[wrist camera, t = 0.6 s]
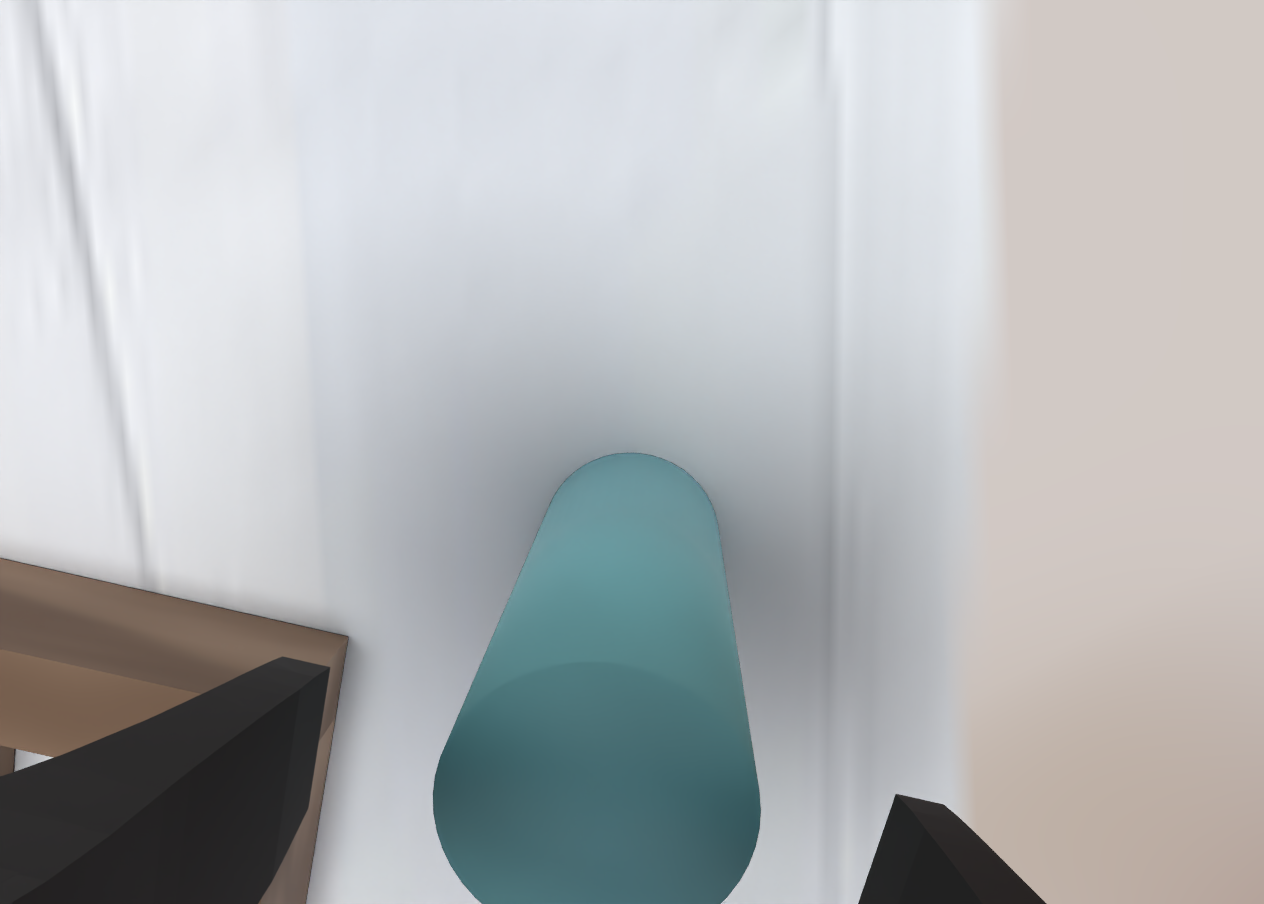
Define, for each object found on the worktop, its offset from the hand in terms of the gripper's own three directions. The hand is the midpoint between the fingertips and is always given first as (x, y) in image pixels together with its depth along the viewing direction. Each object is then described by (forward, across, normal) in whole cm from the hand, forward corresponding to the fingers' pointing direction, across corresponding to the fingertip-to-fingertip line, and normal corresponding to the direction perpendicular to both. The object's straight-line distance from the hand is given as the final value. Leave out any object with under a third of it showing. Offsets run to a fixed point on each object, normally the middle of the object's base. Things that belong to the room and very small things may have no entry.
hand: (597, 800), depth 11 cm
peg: (+10, 0, 0) cm, 10 cm away
